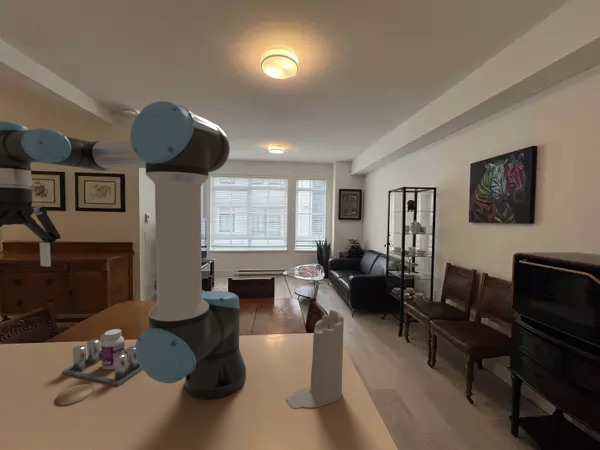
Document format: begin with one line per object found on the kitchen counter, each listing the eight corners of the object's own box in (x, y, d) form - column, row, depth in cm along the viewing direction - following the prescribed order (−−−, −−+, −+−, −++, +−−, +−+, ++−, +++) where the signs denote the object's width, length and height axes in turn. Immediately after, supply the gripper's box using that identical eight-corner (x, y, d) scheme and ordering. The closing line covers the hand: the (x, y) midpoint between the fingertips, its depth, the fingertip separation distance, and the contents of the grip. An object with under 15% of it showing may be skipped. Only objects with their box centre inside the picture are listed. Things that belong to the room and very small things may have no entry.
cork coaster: (100, 388, 69) (100, 386, 69) (70, 407, 63) (70, 406, 63) (78, 383, 71) (78, 381, 71) (47, 401, 65) (47, 400, 64)
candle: (282, 394, 68) (283, 314, 67) (332, 381, 74) (334, 306, 72) (293, 414, 62) (294, 326, 60) (347, 398, 67) (349, 317, 66)
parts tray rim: (160, 357, 84) (160, 355, 84) (118, 386, 70) (118, 383, 70) (109, 348, 89) (109, 346, 89) (62, 373, 75) (62, 371, 75)
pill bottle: (116, 370, 77) (115, 336, 76) (97, 370, 77) (96, 336, 76) (129, 359, 82) (128, 327, 82) (111, 359, 82) (110, 327, 82)
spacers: (152, 359, 83) (152, 340, 82) (120, 381, 72) (119, 359, 72) (107, 351, 87) (106, 332, 86) (70, 370, 76) (69, 349, 76)
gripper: (54, 190, 83) (57, 261, 84) (-76, 183, 59) (-69, 282, 60) (74, 190, 81) (76, 262, 83) (-53, 182, 57) (-46, 285, 58)
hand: (15, 271), depth 71 cm, fingers open, 13 cm apart
